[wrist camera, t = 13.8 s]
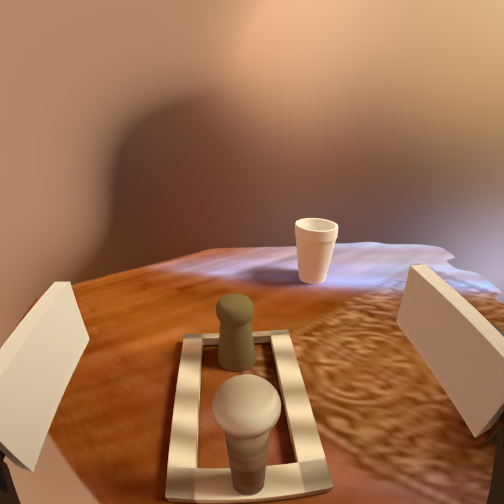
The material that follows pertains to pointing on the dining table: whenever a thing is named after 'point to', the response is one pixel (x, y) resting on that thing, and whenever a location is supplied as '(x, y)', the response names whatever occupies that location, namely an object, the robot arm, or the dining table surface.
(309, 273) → the foam cup
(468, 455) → the dining table surface
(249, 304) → the cork
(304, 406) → the joystick on frame
